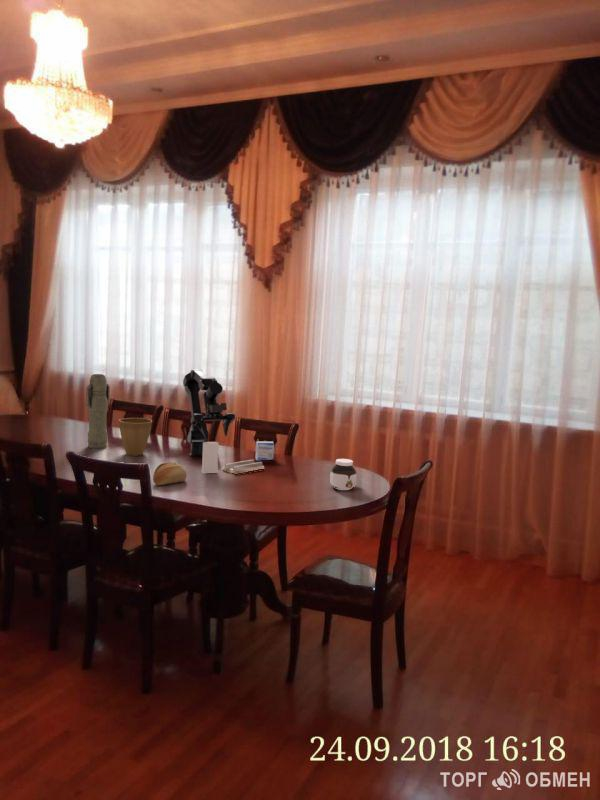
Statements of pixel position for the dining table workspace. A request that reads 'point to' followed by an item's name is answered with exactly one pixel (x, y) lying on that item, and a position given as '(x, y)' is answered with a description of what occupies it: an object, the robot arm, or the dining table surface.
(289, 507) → the dining table surface
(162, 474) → the bread roll
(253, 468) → the track base
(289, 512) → the dining table surface
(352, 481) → the spread jar
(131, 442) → the plant pot
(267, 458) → the medicine box
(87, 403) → the stone statue
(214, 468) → the door panel
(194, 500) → the dining table surface
